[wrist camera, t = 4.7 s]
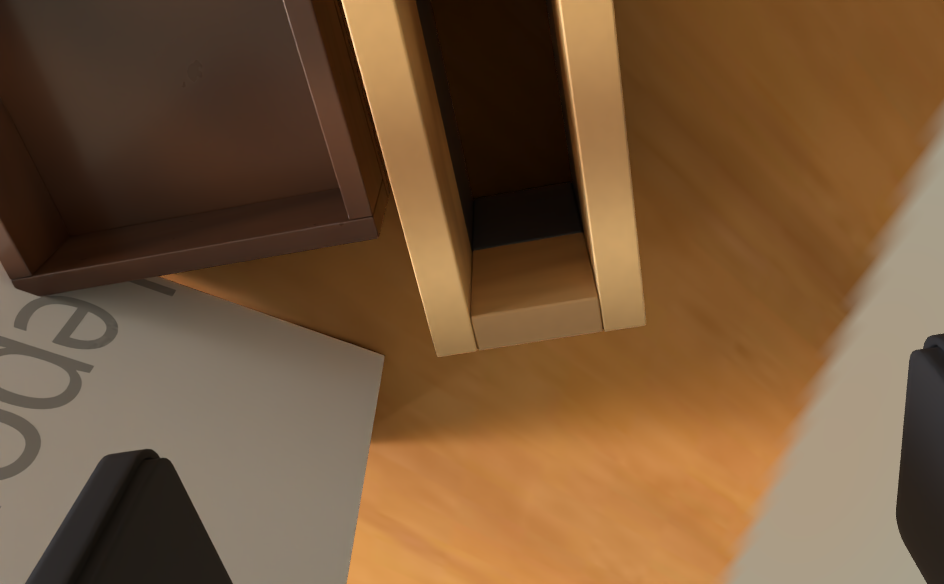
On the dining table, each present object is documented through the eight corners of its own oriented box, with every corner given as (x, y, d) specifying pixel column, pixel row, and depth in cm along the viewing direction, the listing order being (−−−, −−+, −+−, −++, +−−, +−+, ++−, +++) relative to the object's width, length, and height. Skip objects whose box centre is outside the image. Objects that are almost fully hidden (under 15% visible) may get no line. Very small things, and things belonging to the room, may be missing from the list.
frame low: (363, -123, 24) (343, -111, 21) (563, -168, 23) (577, -163, 20) (447, 232, 30) (443, 287, 27) (609, 204, 29) (625, 257, 26)
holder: (-190, -251, 23) (-296, -260, 20) (239, -363, 21) (198, -392, 18) (67, 250, 31) (21, 300, 28) (390, 192, 29) (379, 238, 26)
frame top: (343, -111, 21) (315, -95, 17) (577, -163, 20) (596, -157, 17) (443, 287, 27) (436, 358, 23) (625, 257, 26) (647, 326, 23)
